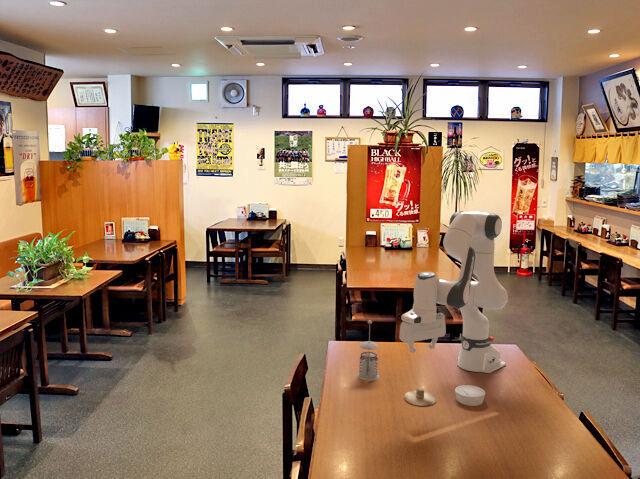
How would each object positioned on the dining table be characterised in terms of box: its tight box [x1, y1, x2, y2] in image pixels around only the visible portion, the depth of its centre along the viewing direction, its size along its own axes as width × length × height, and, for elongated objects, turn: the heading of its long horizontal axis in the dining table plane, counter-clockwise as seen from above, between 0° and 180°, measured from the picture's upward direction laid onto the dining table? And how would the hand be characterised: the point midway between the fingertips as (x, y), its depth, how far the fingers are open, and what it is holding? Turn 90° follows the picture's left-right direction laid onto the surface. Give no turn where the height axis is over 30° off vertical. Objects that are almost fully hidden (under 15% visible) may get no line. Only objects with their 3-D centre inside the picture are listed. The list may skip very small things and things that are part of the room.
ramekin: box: [454, 384, 486, 407], centre depth 217 cm, size 11×11×5 cm
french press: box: [356, 319, 380, 382], centre depth 239 cm, size 10×12×25 cm
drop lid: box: [403, 387, 437, 407], centre depth 217 cm, size 12×12×4 cm
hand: (422, 350), depth 214 cm, fingers open, 8 cm apart
